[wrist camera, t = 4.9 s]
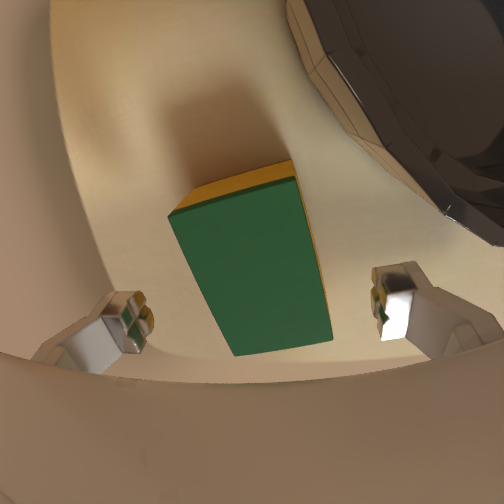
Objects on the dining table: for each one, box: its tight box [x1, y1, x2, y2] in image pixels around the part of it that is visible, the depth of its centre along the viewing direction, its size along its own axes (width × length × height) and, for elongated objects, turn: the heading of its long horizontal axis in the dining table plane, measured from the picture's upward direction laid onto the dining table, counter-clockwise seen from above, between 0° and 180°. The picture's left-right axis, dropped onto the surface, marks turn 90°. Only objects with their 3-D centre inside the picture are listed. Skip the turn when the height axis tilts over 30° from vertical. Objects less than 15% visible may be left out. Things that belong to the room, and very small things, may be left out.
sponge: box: [168, 160, 333, 356], centre depth 12 cm, size 7×4×4 cm, turn 18°
